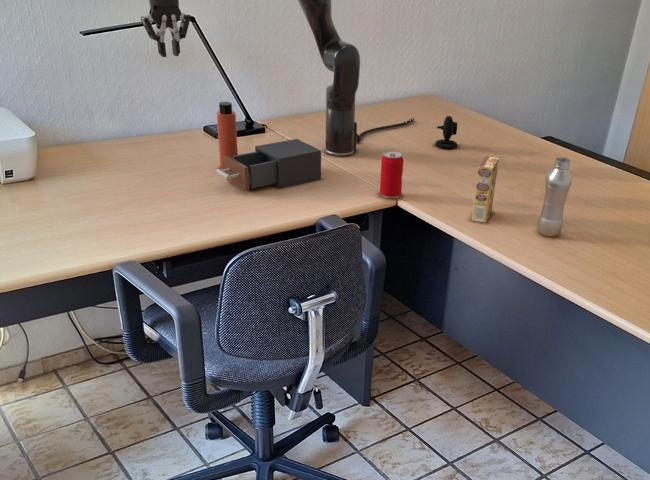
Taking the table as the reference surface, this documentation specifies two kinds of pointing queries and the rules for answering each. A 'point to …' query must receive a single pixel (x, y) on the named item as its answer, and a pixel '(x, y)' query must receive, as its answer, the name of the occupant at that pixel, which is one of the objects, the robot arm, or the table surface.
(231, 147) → the flask
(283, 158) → the desk cabinet
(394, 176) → the beverage can
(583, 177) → the table surface
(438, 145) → the webcam
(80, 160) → the table surface
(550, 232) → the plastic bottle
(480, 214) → the candy box
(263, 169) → the drawer
